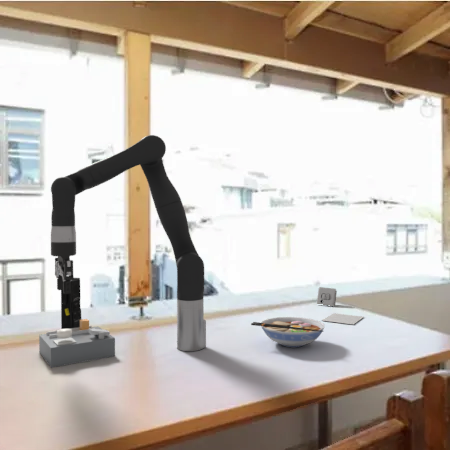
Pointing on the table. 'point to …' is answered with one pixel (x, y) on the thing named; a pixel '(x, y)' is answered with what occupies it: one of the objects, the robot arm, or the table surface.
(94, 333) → the rocker switch
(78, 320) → the portable radio
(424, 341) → the table surface
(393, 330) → the table surface
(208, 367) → the table surface
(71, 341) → the console
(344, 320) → the paper stack
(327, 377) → the table surface
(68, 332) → the push button
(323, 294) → the electrical switch
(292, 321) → the ramen bowl
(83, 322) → the slider knob
